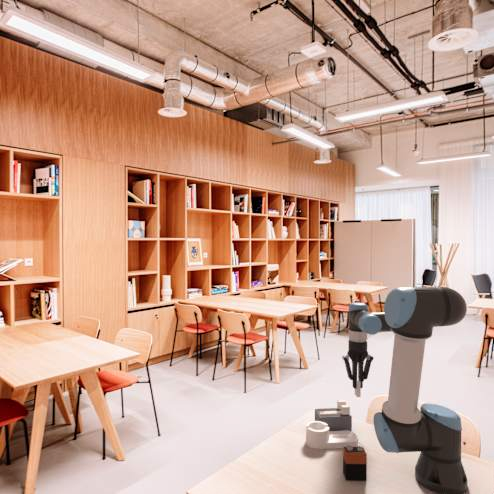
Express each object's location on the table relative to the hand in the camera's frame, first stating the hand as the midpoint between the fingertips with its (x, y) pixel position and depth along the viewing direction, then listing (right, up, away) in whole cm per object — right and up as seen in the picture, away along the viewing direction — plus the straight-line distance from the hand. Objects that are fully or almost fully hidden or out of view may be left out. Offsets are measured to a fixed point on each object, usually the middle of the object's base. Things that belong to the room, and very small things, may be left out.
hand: (357, 395), depth 162 cm
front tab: (-7, -5, -6) cm, 10 cm away
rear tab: (-7, -5, -1) cm, 9 cm away
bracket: (-14, -13, -14) cm, 23 cm away
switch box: (-11, -13, -4) cm, 17 cm away
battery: (-11, -13, -36) cm, 40 cm away
